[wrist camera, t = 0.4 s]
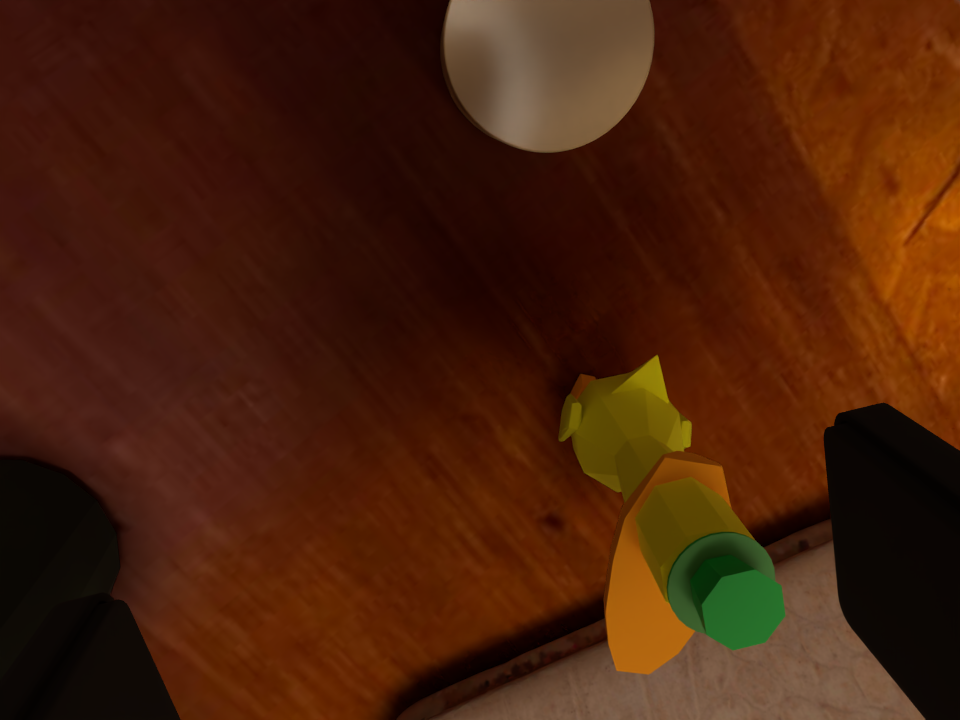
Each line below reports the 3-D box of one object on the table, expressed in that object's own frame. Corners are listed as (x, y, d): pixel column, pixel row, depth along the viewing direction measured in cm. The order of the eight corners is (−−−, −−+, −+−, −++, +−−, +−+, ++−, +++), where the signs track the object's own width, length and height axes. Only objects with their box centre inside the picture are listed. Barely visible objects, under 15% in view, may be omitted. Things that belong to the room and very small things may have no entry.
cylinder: (410, -7, 21) (408, -26, 18) (588, -83, 21) (616, -115, 18) (480, 173, 23) (489, 184, 20) (646, 105, 23) (681, 105, 20)
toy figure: (617, 508, 27) (763, 807, 15) (517, 493, 26) (589, 790, 15) (670, 321, 25) (881, 506, 13) (561, 302, 24) (684, 476, 13)
